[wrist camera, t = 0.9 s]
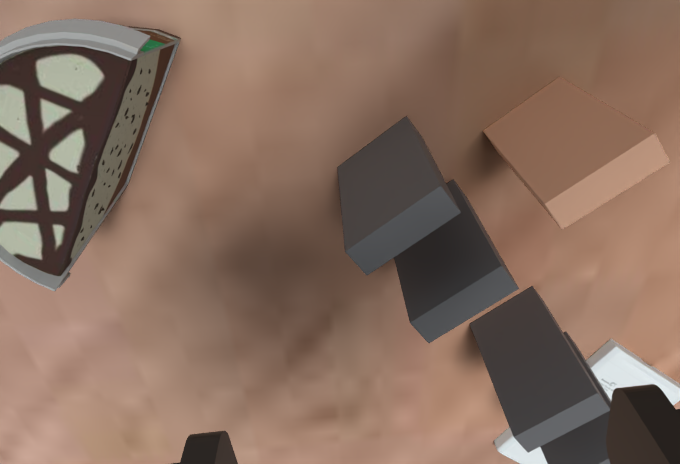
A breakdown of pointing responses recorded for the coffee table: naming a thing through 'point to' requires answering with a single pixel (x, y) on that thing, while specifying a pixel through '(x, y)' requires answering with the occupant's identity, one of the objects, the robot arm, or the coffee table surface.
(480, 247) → the domino
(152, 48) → the food container
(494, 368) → the domino
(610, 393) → the external hard drive
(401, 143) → the domino
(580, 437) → the domino
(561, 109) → the domino
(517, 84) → the coffee table surface
